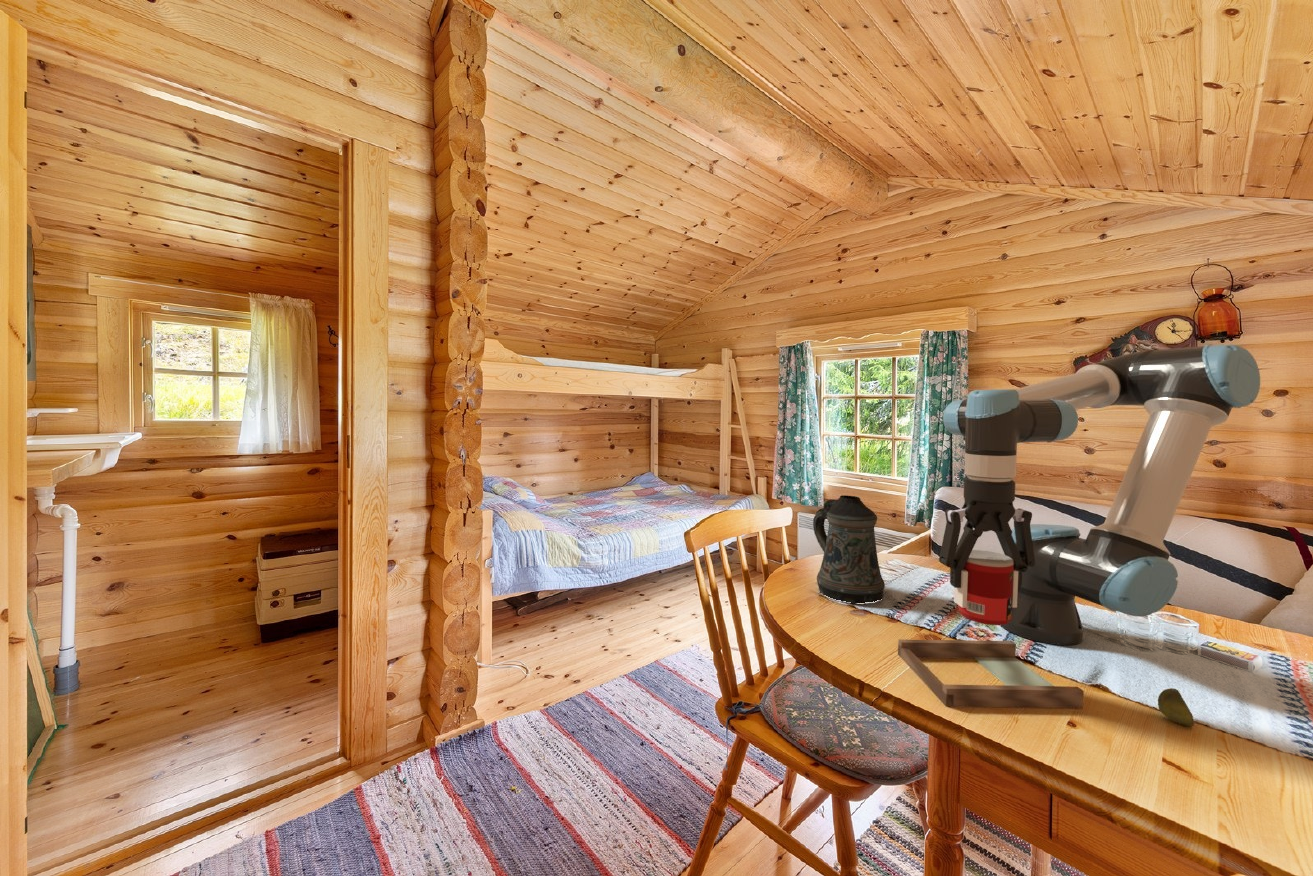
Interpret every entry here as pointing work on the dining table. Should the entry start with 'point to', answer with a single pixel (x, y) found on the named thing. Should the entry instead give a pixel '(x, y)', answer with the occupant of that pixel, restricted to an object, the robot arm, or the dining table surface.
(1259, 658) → the dining table surface
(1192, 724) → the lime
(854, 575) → the beer stein
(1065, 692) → the bay
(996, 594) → the canned food
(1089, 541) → the robot arm
